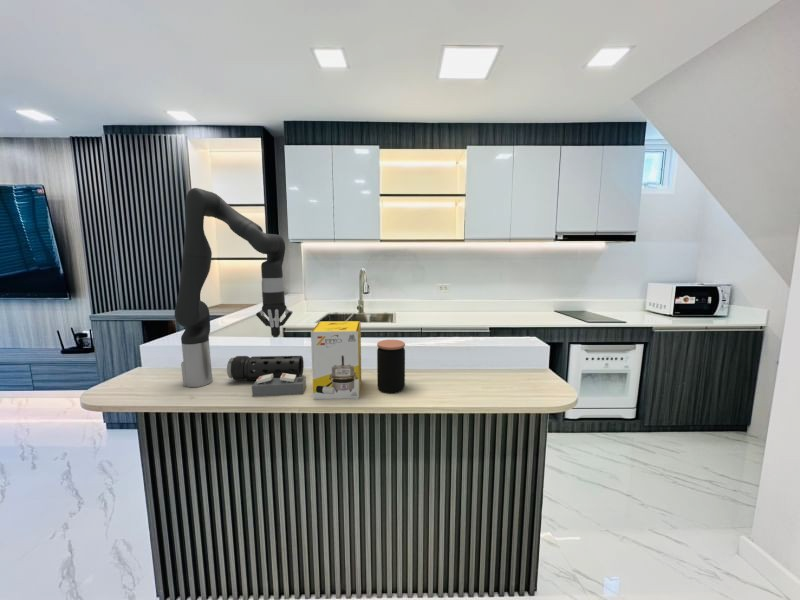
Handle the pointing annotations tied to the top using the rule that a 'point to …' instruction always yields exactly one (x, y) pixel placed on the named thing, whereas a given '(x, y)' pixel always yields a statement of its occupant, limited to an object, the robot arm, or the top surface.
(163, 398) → the top surface
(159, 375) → the top surface
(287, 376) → the rocker
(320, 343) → the packaging box
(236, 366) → the muzzle brake
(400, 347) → the coffee jar
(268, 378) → the rocker
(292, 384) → the switch strip
